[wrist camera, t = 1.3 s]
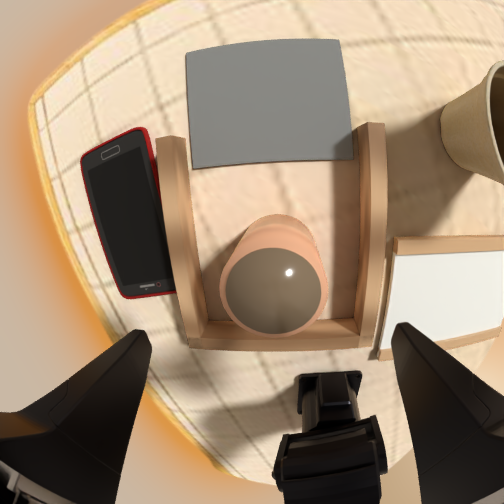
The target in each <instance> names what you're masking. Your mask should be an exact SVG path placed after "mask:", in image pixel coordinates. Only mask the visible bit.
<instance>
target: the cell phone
mask: <svg viewBox="0 0 504 504" xmlns="http://www.w3.org/2000/svg"><path fill="white" fill-rule="evenodd" d="M80 165H81V171H82V176H83V180H84V185H85V189H86V193H87V197H88V201H89V204H90V208H91V212H92V215H93V219H94V222H95V226H96V229H97V232H98V235H99V238H100V241H101V244H102V247H103V250H104V253H105V256H106V259H107V262H108V265H109V267H110V270H111V273H112V275H113V278H114V280H115V283H116V286H117V288H118V290H119V292H120V294H121V295H122V296H123V297H124V298H126V299H136V298H144V297H151V296H159V295H166V294H173V293H177V291H176V286H175V281H174V275H173V270H172V265H171V259H170V253H169V247H168V241H167V235H166V228H165V222H164V214H163V207H162V199H161V191H160V182H159V174H158V170H157V166H156V162H155V158H154V154H153V150H152V145H151V141H150V137H149V134H148V131H147V130H146V128H143V127H136V128H133V129H130V130H128V131H126V132H124V133H122V134H120V135H118V136H116V137H114V138H112V139H110V140H108V141H106V142H104V143H102V144H100V145H98V146H96V147H95V148H93V149H91V150H89V151H87V152H86V153H85V154H83V155H82V157H81V160H80Z"/></svg>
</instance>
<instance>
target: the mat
mask: <svg viewBox="0 0 504 504" xmlns="http://www.w3.org/2000/svg"><path fill="white" fill-rule="evenodd" d="M186 63H187V88H188V107H189V123H190V137H191V149H192V161H193V169H195V168H203V167H211V166H221V165H231V164H242V163H255V162H270V161H289V160H354V158H353V142H352V129H351V118H350V108H349V99H348V91H347V84H346V77H345V70H344V64H343V58H342V52H341V47H340V42H339V40H336V39H278V40H264V41H253V42H244V43H236V44H230V45H223V46H217V47H212V48H206V49H201V50H197V51H192V52H188V53H186Z"/></svg>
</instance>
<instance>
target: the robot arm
mask: <svg viewBox="0 0 504 504" xmlns="http://www.w3.org/2000/svg"><path fill="white" fill-rule="evenodd" d="M391 348H392V353H393V359H394V364H395V370H396V376H397V381H398V385H399V389H400V392H401V396H402V400H403V404H404V408H405V412H406V416H407V420H408V424H409V429H410V433H411V438H412V443H413V448H414V453H415V458H416V464H417V470H418V476H419V477H418V478H419V485H420V493H421V502H422V504H504V396H503V395H502V394H500V393H498V392H497V391H496V390H494V389H493V388H491V387H490V386H489V385H487V384H486V383H485V382H484V381H482V380H481V379H480V378H479V377H477V376H476V375H475V374H473V373H472V372H471V371H470V370H469V369H468V368H466V367H465V366H464V365H463V364H461V363H460V362H459V361H458V360H456V359H455V358H454V357H453V356H451V355H450V354H449V353H447V352H446V351H445V350H444V349H442V348H441V347H440V346H439V345H437V344H436V343H435V342H433V341H432V340H431V339H430V338H428V337H427V336H426V335H424V334H423V333H422V332H420V331H419V330H418V329H416V328H415V327H414V326H412V325H411V324H410V323H408V322H401V323H397V324H396V326H395V329H394V332H393V335H392V338H391ZM151 353H152V346H151V343H150V341H149V339H148V336H147V334H146V332H145V331H144V330H138V329H135V330H133V331H131V332H130V333H128V334H127V335H126V336H124V337H123V338H122V339H120V340H119V341H118V342H116V343H115V344H114V345H112V346H111V347H110V348H108V349H107V350H106V351H105V352H103V353H102V354H101V355H99V356H98V357H97V358H95V359H94V360H93V361H91V362H90V363H89V364H87V365H86V366H85V367H84V368H82V369H81V370H79V371H78V372H77V373H75V374H74V375H73V376H71V377H70V378H69V380H66V381H65V382H63V383H62V384H61V385H59V386H58V387H57V388H55V389H54V390H52V391H51V392H49V393H48V394H46V395H45V396H44V397H42V398H40V399H39V400H37V401H35V402H34V403H32V404H31V405H29V406H27V407H26V408H24V409H22V410H20V411H17V412H11V413H6V412H0V504H115V501H116V496H117V491H118V486H119V481H120V477H121V472H122V468H123V464H124V460H125V455H126V451H127V447H128V444H129V439H130V436H131V432H132V429H133V425H134V421H135V418H136V414H137V411H138V407H139V404H140V400H141V397H142V394H143V390H144V387H145V383H146V378H147V373H148V368H149V363H150V358H151ZM356 375H358V376H356ZM304 378H305V379H304ZM361 379H362V372H361V371H349V372H336V373H320V374H302V375H300V377H299V392H298V409H297V412H298V414H302V433H296V434H283V437H282V441H281V442H280V446H279V449H278V453H277V457H276V460H275V464H274V470H273V471H272V477H273V478H274V479H275V480H276V484H277V487H278V489H279V491H280V492H283V495H284V503H285V504H379V503H380V499H381V496H382V495H381V482H380V475H383V474H386V473H387V471H388V466H387V457H386V451H385V446H384V441H383V438H382V434H381V431H380V428H379V424H378V421H377V418H376V415H373V416H370V417H369V418H366V419H362V420H361V418H360V413H359V408H358V403H357V395H358V391H359V387H360V383H361Z"/></svg>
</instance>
